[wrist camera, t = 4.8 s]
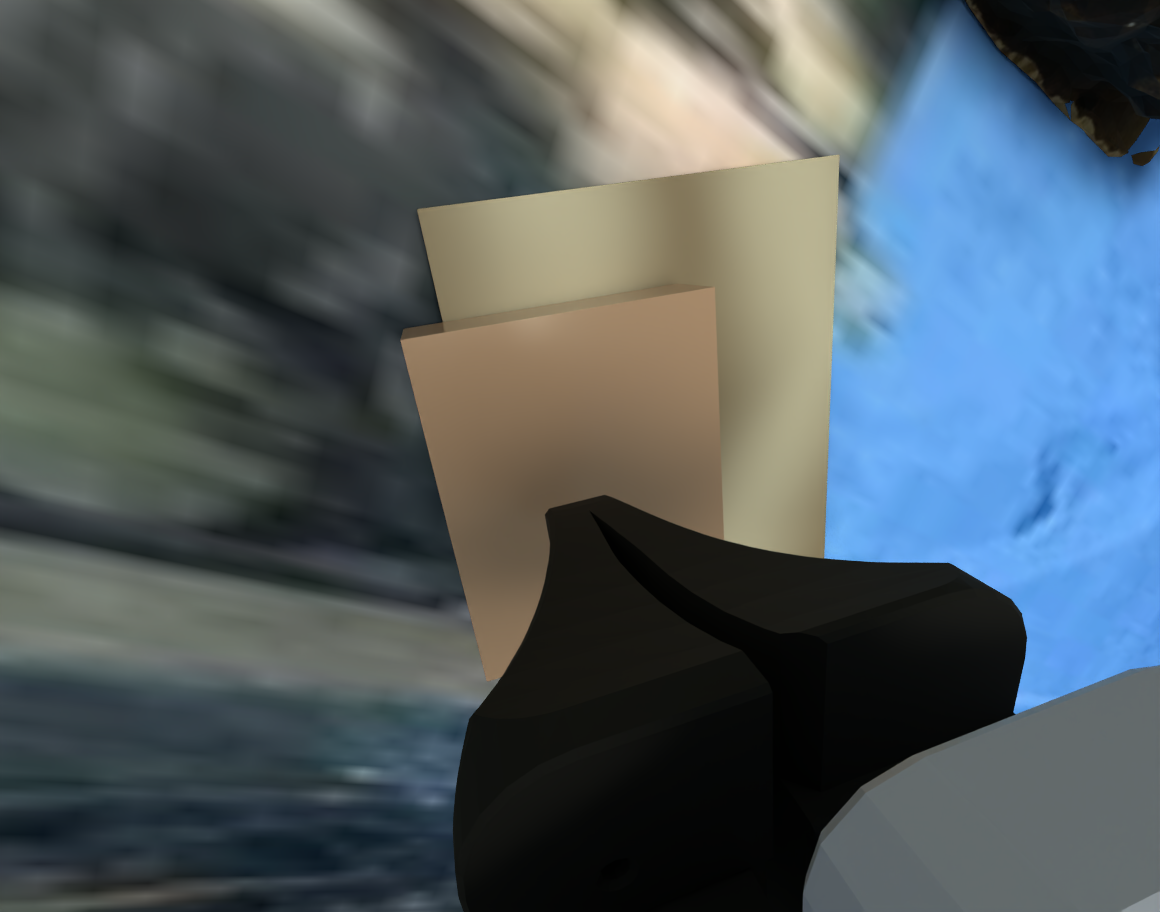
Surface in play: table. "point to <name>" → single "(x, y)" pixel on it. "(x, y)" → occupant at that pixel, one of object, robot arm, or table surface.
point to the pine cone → (1086, 60)
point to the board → (694, 257)
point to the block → (564, 432)
